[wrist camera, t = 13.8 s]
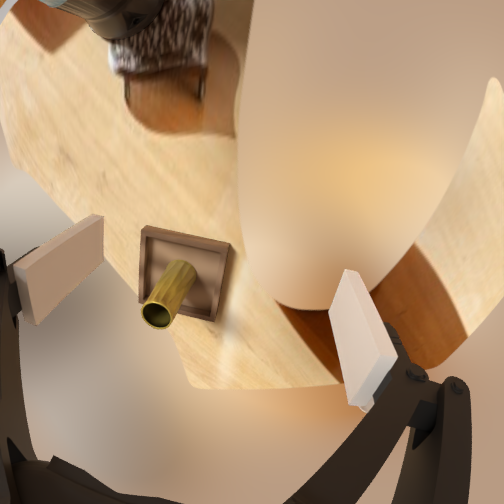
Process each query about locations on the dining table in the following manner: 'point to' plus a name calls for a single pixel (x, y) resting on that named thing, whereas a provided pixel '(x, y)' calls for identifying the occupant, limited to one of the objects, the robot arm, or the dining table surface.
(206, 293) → the walnut tray
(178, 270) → the vase
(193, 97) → the dining table surface
